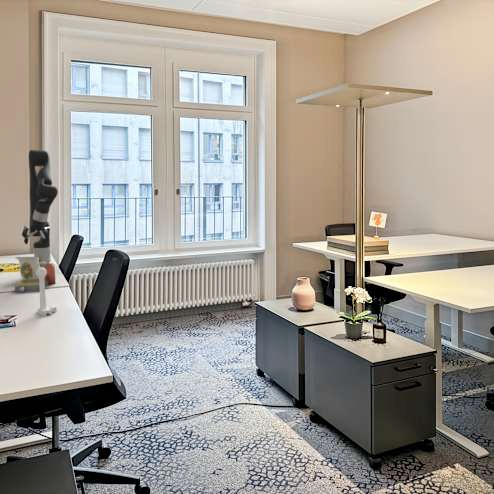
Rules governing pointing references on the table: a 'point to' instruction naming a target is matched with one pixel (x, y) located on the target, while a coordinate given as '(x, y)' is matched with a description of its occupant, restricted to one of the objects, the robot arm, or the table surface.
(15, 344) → the table surface
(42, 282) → the joystick
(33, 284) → the grey tray
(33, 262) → the pitcher
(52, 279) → the spout can
